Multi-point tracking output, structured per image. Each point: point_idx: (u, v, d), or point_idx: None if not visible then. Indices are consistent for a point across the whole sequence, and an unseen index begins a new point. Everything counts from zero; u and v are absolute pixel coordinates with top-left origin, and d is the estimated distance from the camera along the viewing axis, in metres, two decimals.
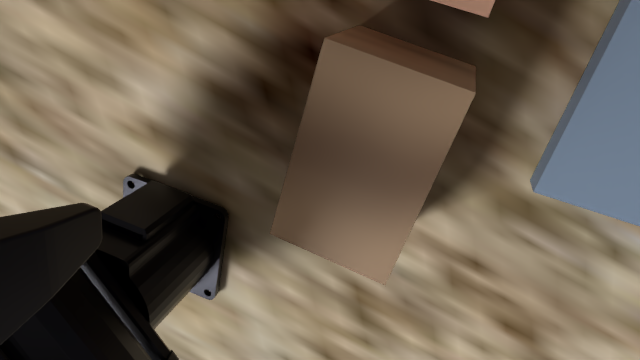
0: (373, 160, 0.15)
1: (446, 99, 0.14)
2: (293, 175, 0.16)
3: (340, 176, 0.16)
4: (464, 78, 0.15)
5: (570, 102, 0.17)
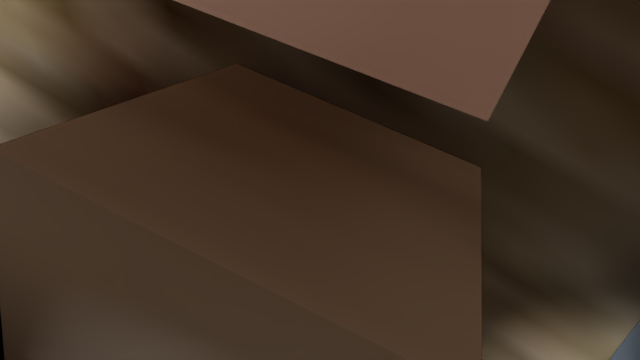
0: None
1: None
2: None
3: None
4: (448, 264, 0.05)
5: None
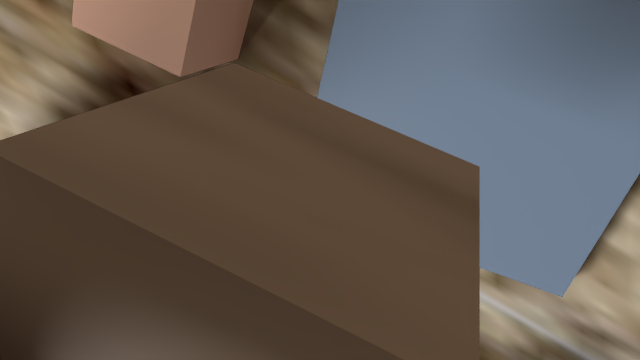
0: None
1: None
2: None
3: None
4: (446, 264, 0.05)
5: None
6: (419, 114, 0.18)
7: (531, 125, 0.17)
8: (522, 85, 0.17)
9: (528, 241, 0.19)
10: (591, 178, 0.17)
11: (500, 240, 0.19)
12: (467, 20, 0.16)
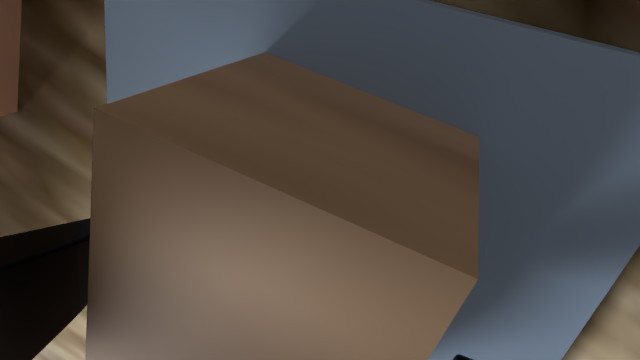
0: None
1: (399, 283, 0.05)
2: None
3: None
4: (451, 201, 0.06)
5: None
6: None
7: None
8: None
9: None
10: (508, 325, 0.11)
11: None
12: None
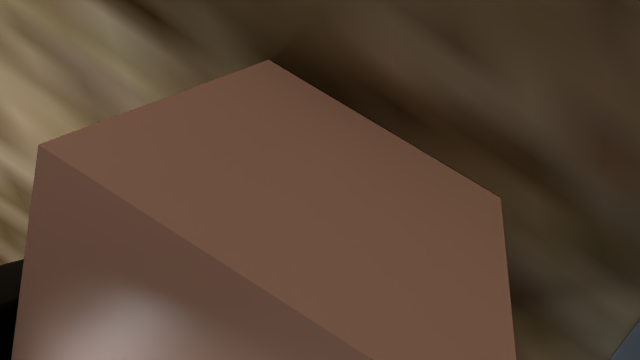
0: None
1: None
2: None
3: None
4: None
5: None
6: None
7: None
8: None
9: None
10: None
11: None
12: None
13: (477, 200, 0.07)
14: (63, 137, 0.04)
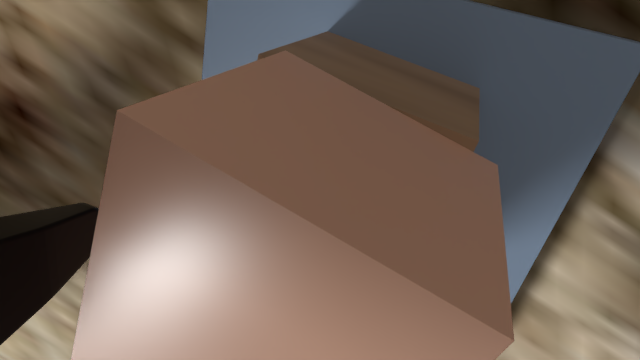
0: None
1: None
2: None
3: None
4: (463, 113, 0.10)
5: None
6: None
7: None
8: None
9: None
10: None
11: None
12: None
13: (476, 165, 0.08)
14: (133, 105, 0.05)
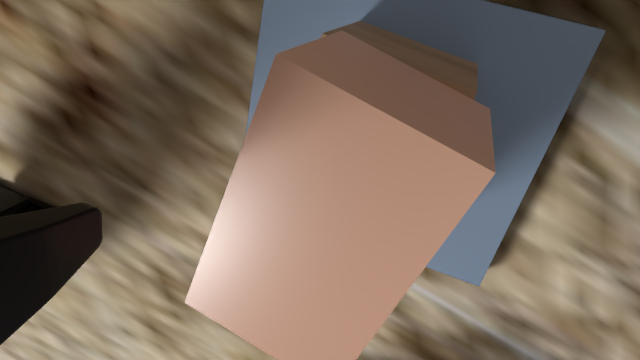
0: None
1: None
2: None
3: None
4: (465, 76, 0.14)
5: None
6: None
7: None
8: None
9: None
10: (494, 176, 0.19)
11: None
12: None
13: (475, 106, 0.12)
14: (281, 52, 0.09)
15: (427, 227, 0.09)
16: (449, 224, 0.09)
